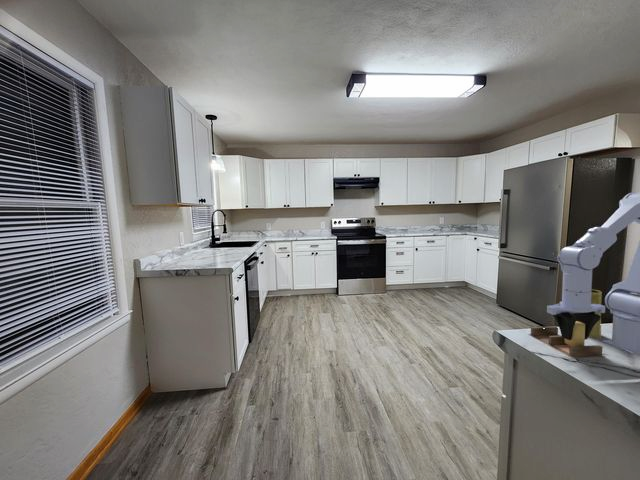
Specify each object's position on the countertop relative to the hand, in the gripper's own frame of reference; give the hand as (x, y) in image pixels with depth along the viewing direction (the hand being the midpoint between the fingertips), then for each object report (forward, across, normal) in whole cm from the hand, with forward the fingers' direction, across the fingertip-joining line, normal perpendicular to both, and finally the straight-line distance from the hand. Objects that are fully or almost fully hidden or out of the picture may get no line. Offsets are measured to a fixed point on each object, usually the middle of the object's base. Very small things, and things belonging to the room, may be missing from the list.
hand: (574, 338), depth 73 cm
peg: (+2, 0, 0) cm, 2 cm away
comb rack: (+4, 0, -3) cm, 5 cm away
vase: (+4, -14, -10) cm, 17 cm away
